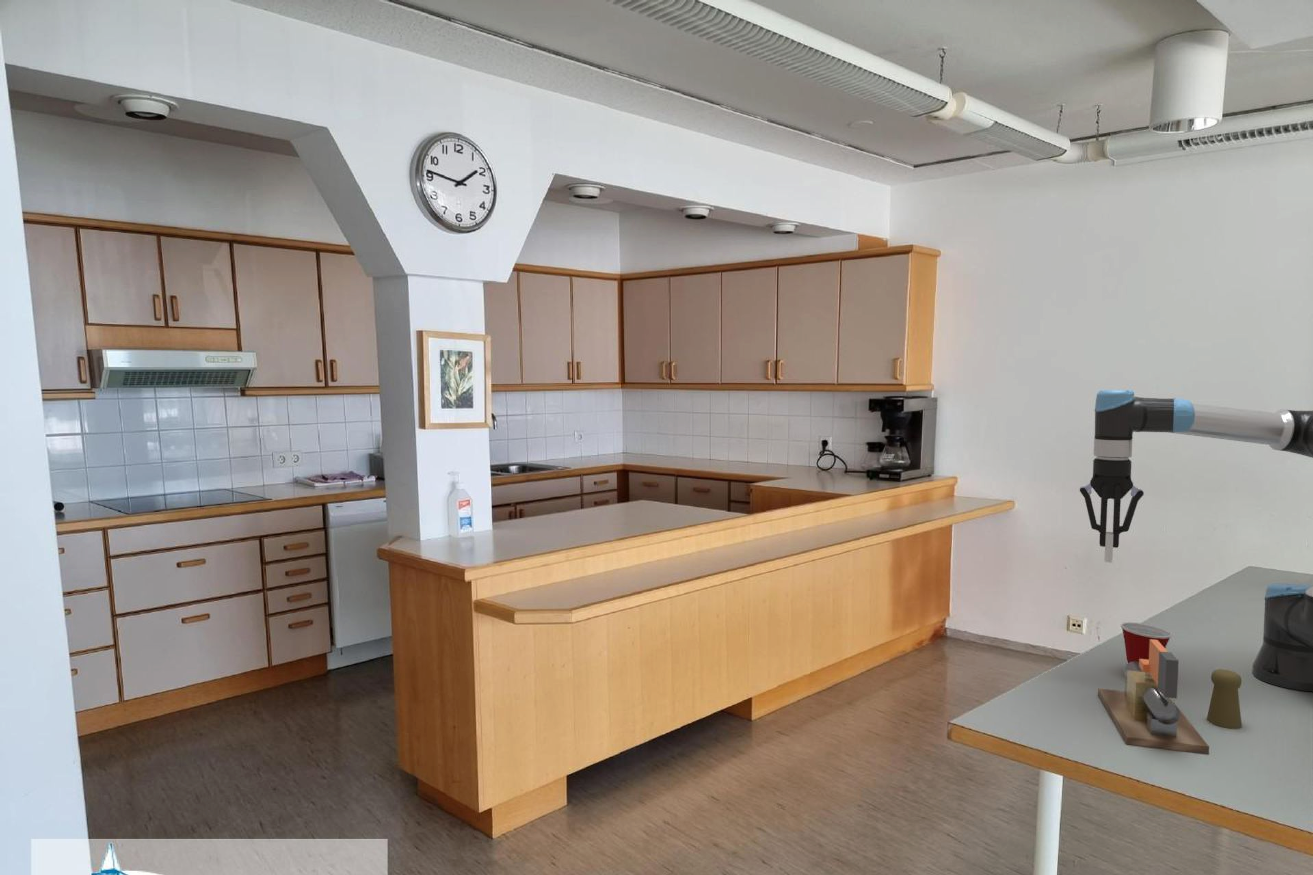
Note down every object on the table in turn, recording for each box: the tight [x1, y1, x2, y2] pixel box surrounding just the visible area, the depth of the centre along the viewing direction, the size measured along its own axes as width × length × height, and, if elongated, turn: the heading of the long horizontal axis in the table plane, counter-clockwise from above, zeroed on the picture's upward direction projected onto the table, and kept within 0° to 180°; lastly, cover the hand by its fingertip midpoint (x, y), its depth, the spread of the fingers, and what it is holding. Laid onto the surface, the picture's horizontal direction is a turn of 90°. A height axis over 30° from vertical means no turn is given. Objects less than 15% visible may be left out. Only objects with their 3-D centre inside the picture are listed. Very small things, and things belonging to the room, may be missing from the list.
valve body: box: [1123, 662, 1180, 738], centre depth 170 cm, size 7×24×8 cm, turn 162°
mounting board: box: [1097, 688, 1210, 755], centre depth 170 cm, size 14×26×2 cm, turn 162°
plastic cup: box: [1120, 621, 1173, 664], centre depth 196 cm, size 11×11×12 cm
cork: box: [1206, 668, 1243, 730], centre depth 169 cm, size 6×6×11 cm
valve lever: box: [1139, 639, 1179, 699], centre depth 163 cm, size 16×4×8 cm, turn 162°
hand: (1108, 560), depth 185 cm, fingers closed
